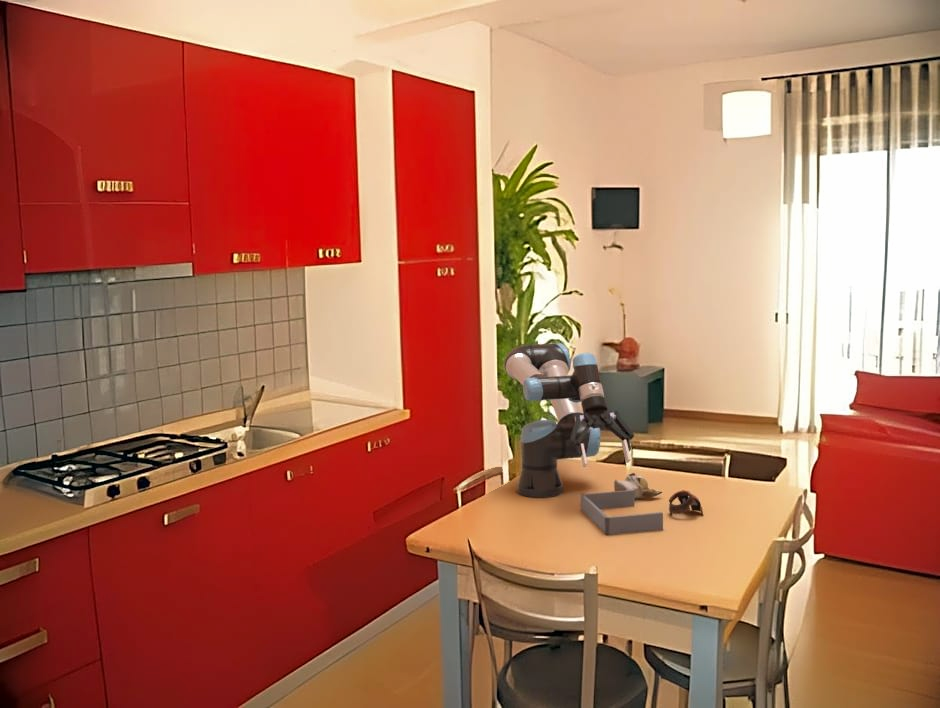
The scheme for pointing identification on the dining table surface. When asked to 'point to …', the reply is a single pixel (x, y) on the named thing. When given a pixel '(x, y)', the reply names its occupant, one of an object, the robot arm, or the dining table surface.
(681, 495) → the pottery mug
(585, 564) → the dining table surface
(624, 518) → the walled box
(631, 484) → the ceramic sculpture
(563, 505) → the dining table surface
